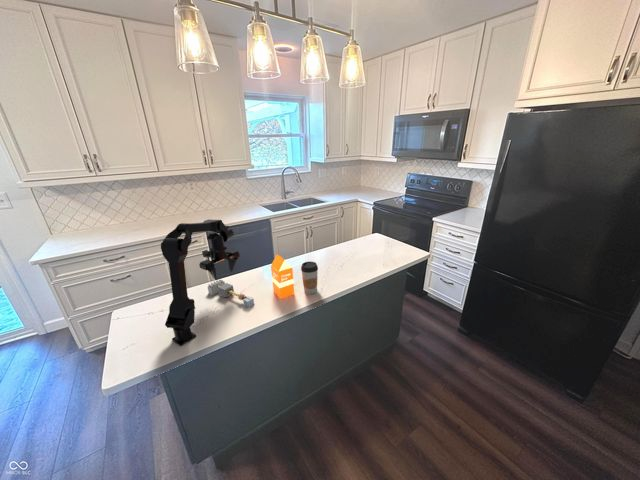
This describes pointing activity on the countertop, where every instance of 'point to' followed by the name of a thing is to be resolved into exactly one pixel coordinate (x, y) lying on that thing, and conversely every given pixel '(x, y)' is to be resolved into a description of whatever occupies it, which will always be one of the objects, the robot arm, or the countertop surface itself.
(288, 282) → the orange juice
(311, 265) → the coffee cup
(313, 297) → the countertop surface
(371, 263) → the countertop surface
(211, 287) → the cord rig
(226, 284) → the sleeve
